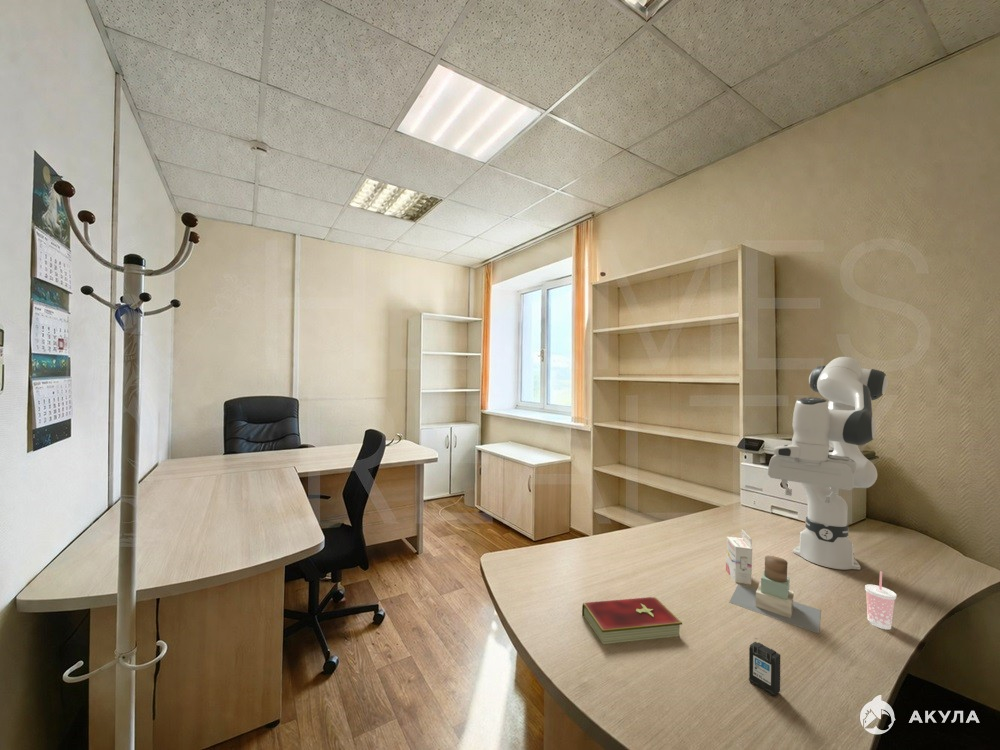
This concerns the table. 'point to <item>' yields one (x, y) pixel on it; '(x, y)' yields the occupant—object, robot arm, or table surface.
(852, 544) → the robot arm
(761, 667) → the ink cartridge
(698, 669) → the table surface
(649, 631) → the hardcover book
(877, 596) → the beverage cup
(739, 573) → the ink cartridge box
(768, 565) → the brown rounded piece
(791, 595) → the base slab
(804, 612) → the mat
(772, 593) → the mint green block
